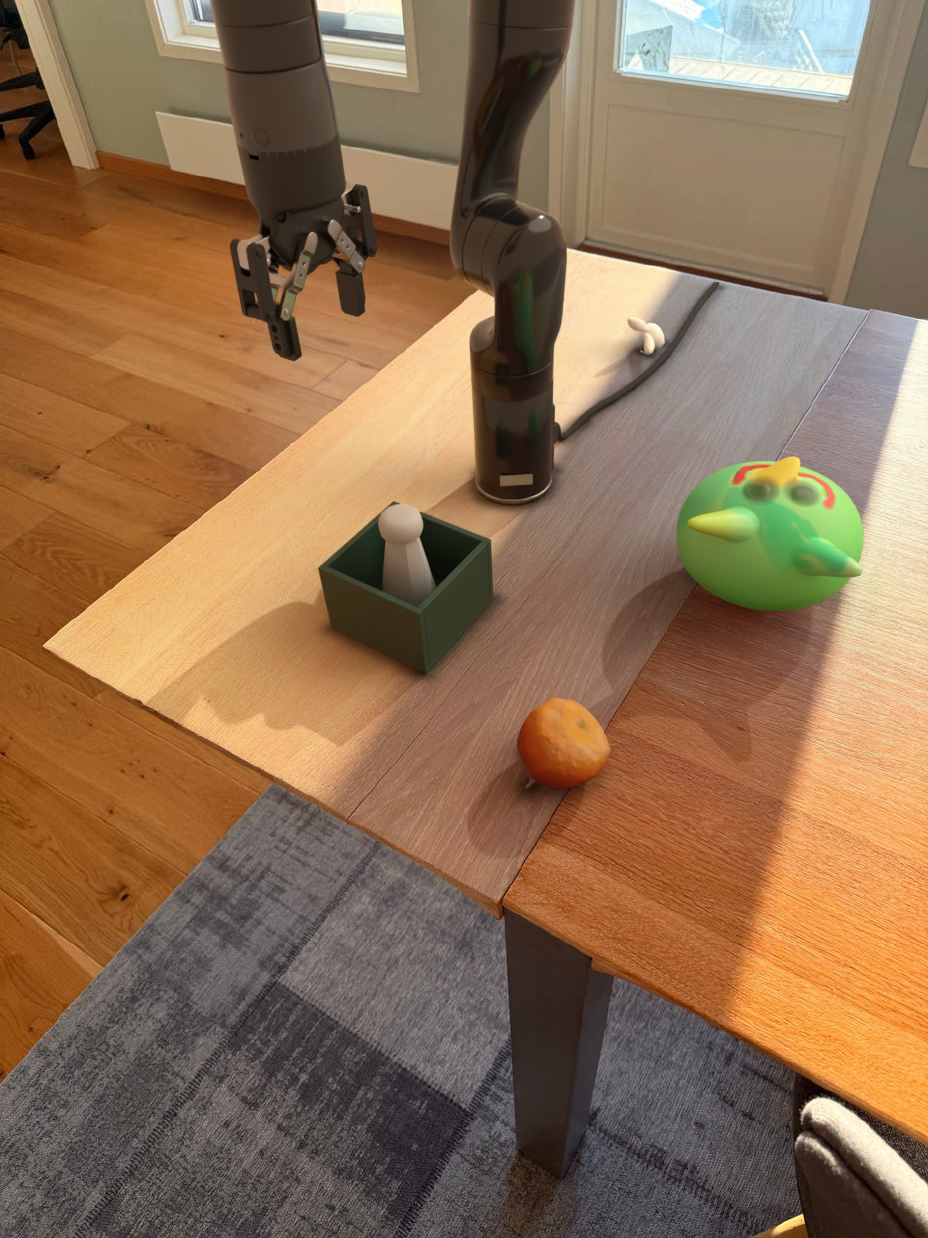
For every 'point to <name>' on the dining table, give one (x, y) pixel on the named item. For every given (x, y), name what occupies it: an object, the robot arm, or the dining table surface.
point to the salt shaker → (405, 555)
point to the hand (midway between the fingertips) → (322, 334)
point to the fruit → (562, 744)
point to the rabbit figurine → (648, 334)
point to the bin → (396, 623)
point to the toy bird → (770, 535)
